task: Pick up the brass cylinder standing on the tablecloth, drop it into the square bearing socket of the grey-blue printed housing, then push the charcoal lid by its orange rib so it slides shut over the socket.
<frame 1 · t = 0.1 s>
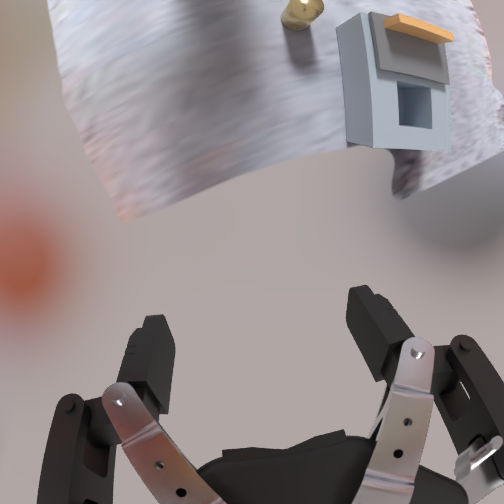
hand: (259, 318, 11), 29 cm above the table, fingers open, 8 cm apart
housing: (383, 86, 32), on the table
lid: (421, 47, 21), point 10 cm above the table, slide at 0.0 cm
brass cylinder: (295, 19, 27), on the table
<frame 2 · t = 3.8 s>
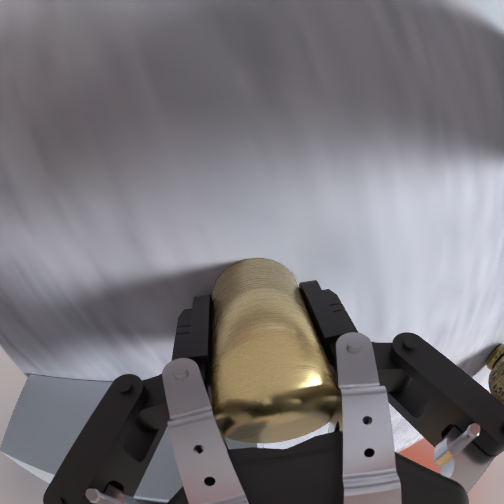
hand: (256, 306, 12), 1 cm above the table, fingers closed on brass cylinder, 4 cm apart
cup: (493, 351, 22), on the table
housing: (152, 428, 19), on the table
brass cylinder: (255, 295, 13), on the table, touching gripper
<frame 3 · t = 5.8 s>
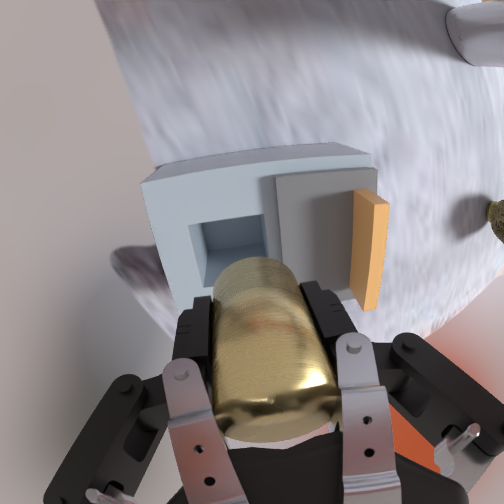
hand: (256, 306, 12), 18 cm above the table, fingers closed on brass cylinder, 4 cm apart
cup: (489, 209, 31), on the table
housing: (258, 214, 30), on the table
lid: (336, 253, 20), point 10 cm above the table, slide at 0.0 cm
brass cylinder: (255, 294, 13), point 18 cm above the table, touching gripper
when the fingers open (9 cm above the table, at t = 7.9 s): brass cylinder drops 7 cm, resting on housing.
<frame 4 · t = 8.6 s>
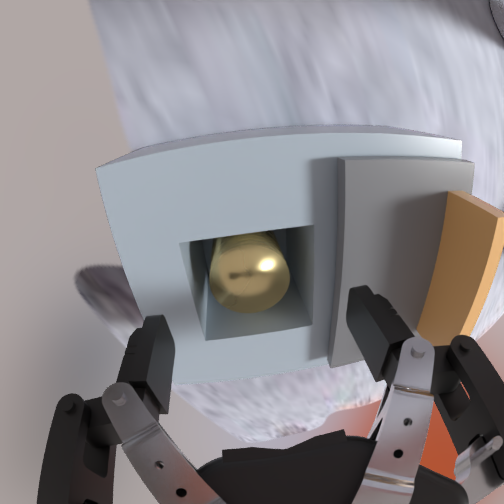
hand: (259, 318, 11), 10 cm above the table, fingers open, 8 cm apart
housing: (282, 222, 21), on the table
lid: (422, 290, 11), point 10 cm above the table, slide at 0.0 cm
brass cylinder: (242, 231, 19), point 1 cm above the table, touching housing
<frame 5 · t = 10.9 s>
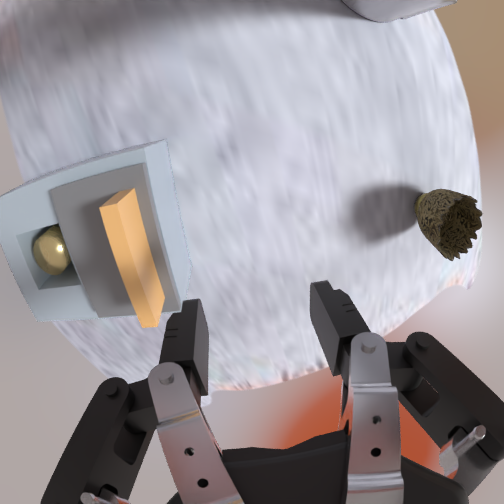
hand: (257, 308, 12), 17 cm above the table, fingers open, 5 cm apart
cup: (421, 204, 30), on the table
housing: (102, 221, 27), on the table
lid: (107, 261, 18), point 10 cm above the table, slide at 0.0 cm
brass cylinder: (76, 228, 26), point 1 cm above the table, touching housing
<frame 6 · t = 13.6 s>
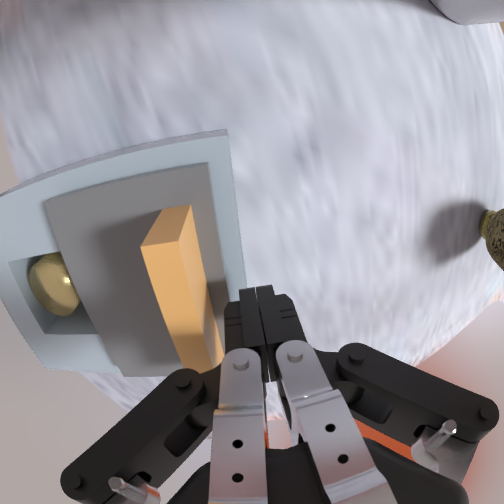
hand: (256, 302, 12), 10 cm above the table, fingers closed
cup: (484, 221, 24), on the table
housing: (128, 237, 21), on the table
lid: (143, 319, 12), point 10 cm above the table, slide at 0.9 cm, touching gripper
brass cylinder: (91, 246, 20), point 1 cm above the table, touching housing
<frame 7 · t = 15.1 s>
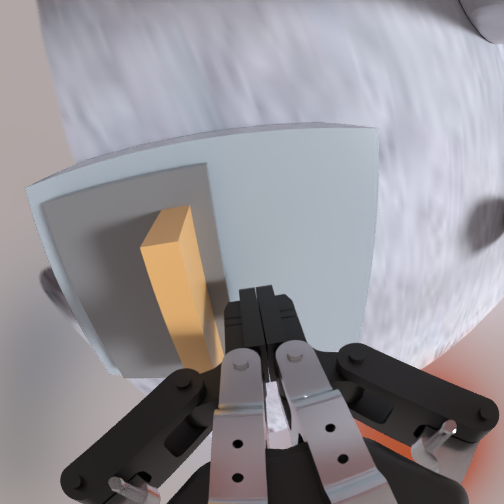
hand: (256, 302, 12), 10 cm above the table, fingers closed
housing: (211, 224, 21), on the table
lid: (142, 320, 12), point 10 cm above the table, slide at 8.1 cm, touching gripper
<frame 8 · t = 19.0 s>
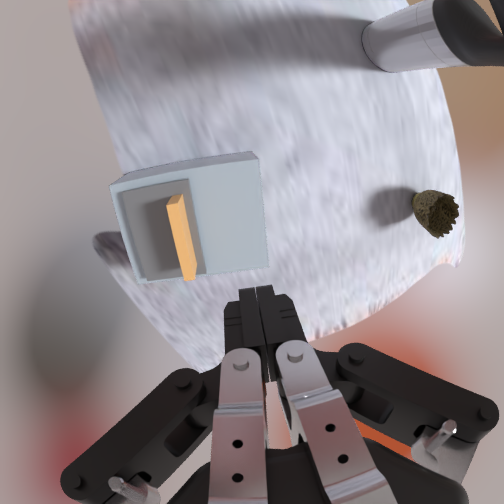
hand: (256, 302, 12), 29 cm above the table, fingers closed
cup: (416, 200, 43), on the table
housing: (195, 206, 40), on the table
lid: (162, 239, 30), point 10 cm above the table, slide at 8.0 cm
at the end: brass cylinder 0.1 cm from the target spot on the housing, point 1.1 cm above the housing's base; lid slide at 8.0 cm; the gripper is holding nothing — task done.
